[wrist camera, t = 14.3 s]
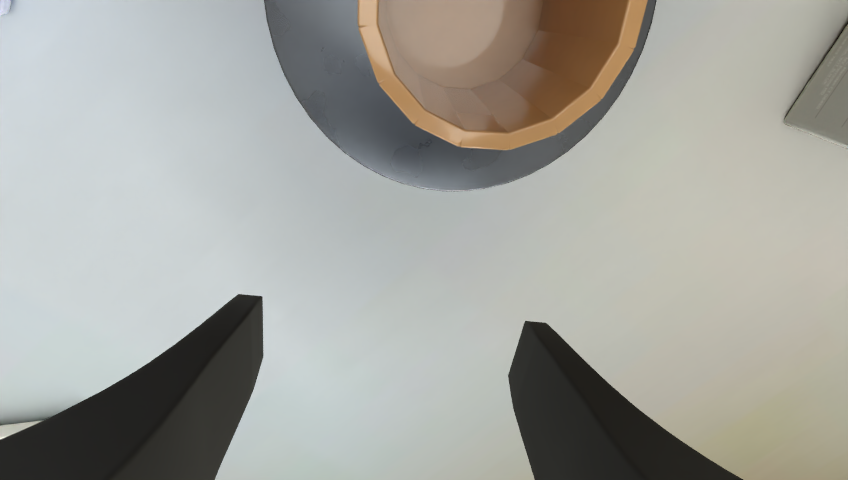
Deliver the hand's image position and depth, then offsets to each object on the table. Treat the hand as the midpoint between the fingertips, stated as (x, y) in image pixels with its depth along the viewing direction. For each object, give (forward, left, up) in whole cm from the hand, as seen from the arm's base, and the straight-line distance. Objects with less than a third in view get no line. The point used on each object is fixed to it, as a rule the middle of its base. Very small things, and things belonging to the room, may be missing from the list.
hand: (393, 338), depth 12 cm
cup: (-1, +8, -6) cm, 11 cm away
